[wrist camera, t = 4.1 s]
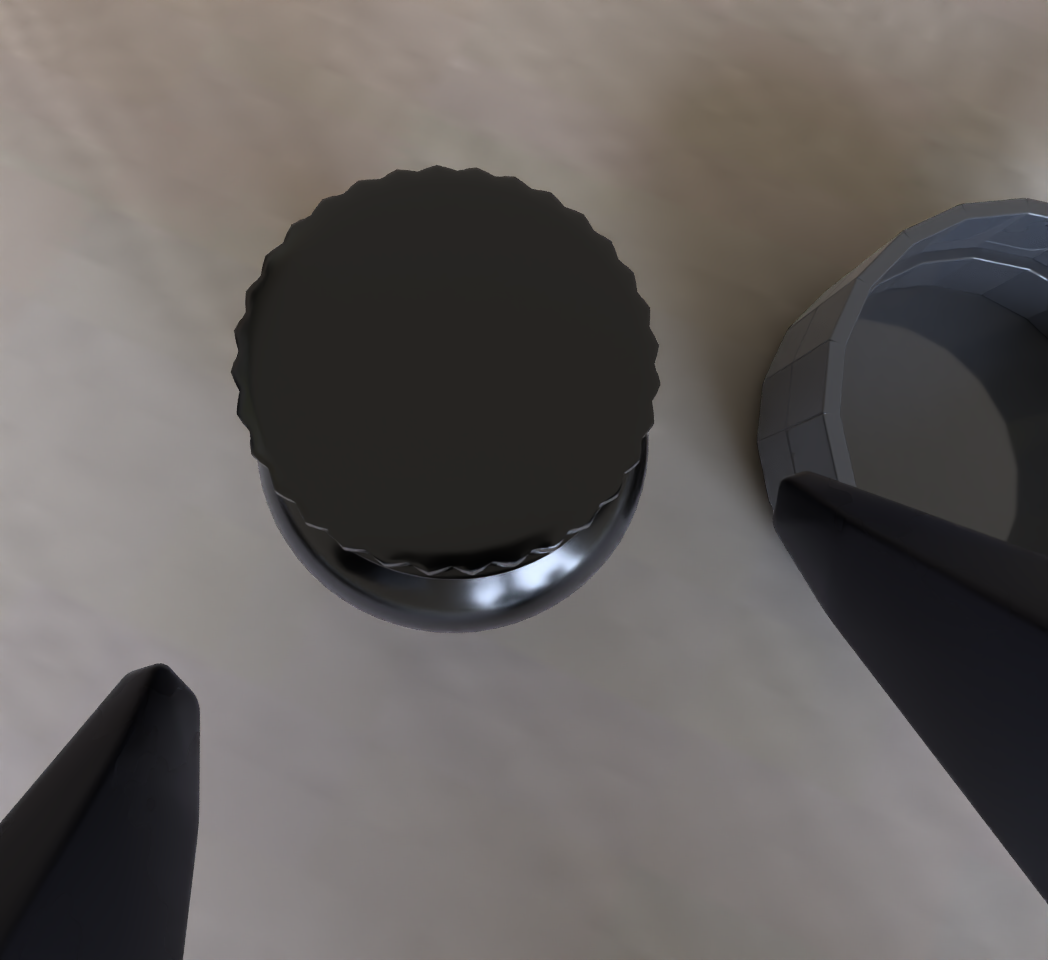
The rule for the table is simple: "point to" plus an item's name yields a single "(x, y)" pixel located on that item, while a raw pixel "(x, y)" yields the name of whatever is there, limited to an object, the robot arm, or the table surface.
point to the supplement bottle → (448, 397)
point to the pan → (927, 374)
